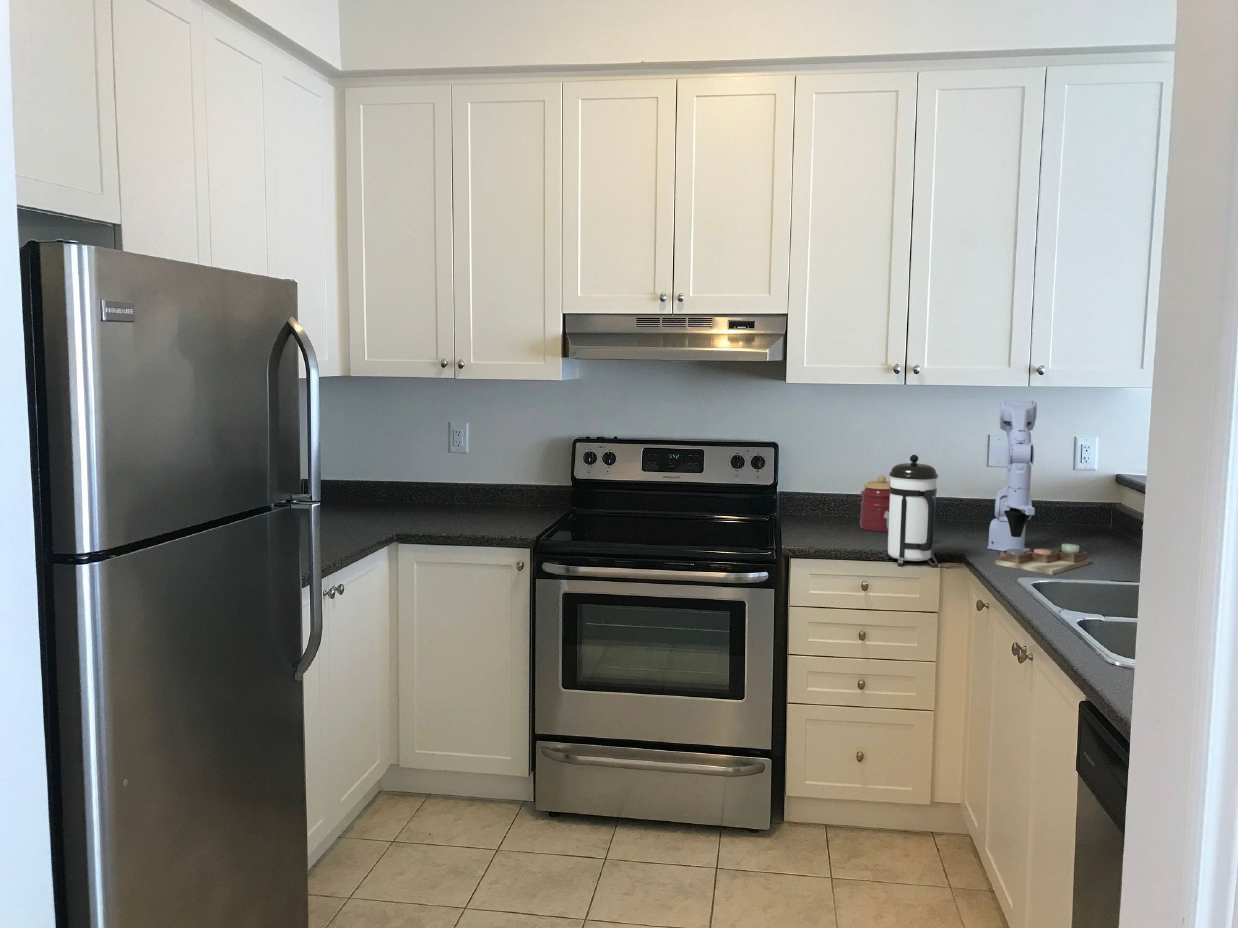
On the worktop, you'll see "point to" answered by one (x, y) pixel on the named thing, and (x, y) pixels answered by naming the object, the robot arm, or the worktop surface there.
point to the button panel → (1043, 561)
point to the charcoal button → (1015, 551)
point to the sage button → (1070, 548)
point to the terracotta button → (1042, 551)
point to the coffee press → (912, 512)
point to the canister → (875, 505)
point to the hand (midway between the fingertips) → (1016, 536)
